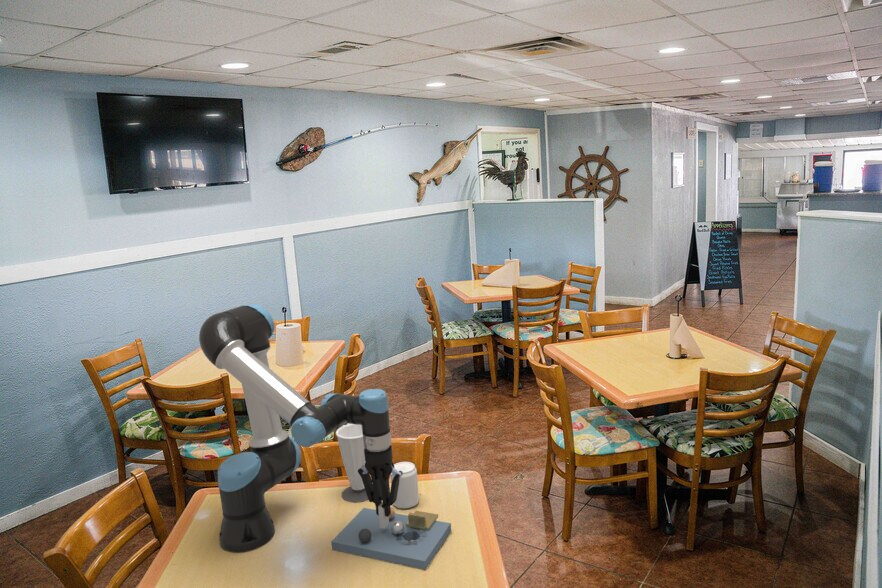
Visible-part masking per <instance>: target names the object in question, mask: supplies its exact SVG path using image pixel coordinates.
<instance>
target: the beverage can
mask: <svg viewBox="0 0 882 588" xmlns="http://www.w3.org/2000/svg"><path fill="white" fill-rule="evenodd" d="M393 464H394V468H395V469H396V470H397V471H398V472H399V471H402V472H403V474H402V476H401V477H400V480H399V487H398V493H397V499H396V501H395V502H394V504H393V505H392V506H395V507H396V508H398V509H410V508H413V507H414V506H416V505H418V503H419V501H420V499H419V485H418V484H419V483H418V482H419V481H418V469H417V468H416V466H415V463H413V462H410V461H400V462H397V463H393ZM392 480H393V478H392V473H391V474H390V485H391V484H392Z"/></svg>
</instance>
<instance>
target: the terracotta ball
mask: <svg viewBox="0 0 882 588" xmlns="http://www.w3.org/2000/svg"><path fill="white" fill-rule="evenodd" d="M390 508H391V514H390V515H389V519H391V518H393V516H394V514H395V513H396V512H395V510H394V508H393V507H392V506H390Z"/></svg>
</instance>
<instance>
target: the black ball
mask: <svg viewBox="0 0 882 588" xmlns="http://www.w3.org/2000/svg"><path fill="white" fill-rule="evenodd" d="M358 537H359V540H360V541H361V542H368V541H369V540H370V539H371V532H370V530H368V529H362V530H361V531H360V532H359V535H358Z"/></svg>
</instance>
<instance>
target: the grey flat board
mask: <svg viewBox="0 0 882 588" xmlns="http://www.w3.org/2000/svg"><path fill="white" fill-rule="evenodd" d="M395 521H400V522H402V523H403V525H404V530H403V532H402V533H401V534H398V535H397V534H394V533H393V532H392V529H391V526H392V524H393V523H394V522H395ZM407 521H408V514H407V515H406V514H401V513H396V512H395V514H394V516H393V518H391V519H389V524H388V526H387V527H386V528H385V529H384V528H380V522H379V515H377V514H376V509H374V508H369V507H362V509H361V510H359V512H358V513H357V514H355V516H354V517H353V518H352V519H351V520H350V522H348V523H347V525H346V526H345V527H344V528H343V529H342V530H340V532H339V533H338V534H337V535H336V536H335V537H334V538H333V539H332V540H331V551H336V552H340V553H344V554H350V555H354V556H359V557H363V558H369V559H372V560H378V561H380V562H381V561H382V562H387V563H392V564H396V565H401V566H406V567H411V568H415V569H420V570H424V571H426V570H427V569H428V567H429V566H430V564H431V563H432V561H433V560H434V559H435V557H436V555H437V553H438V552H439V550H440V549H441V547H442V546H443V544H444V543H445V541H446V540H447V538H448V537H449V535H450V533H452V523H451V522H446V521H440V520H436V521H435V522H434V524H433V525H432V526H431V528H430V529H429V530H424V529H419V528H413V527H408V526H406V522H407ZM362 529H368V530H370V532H371V539H370V540H369V541H368V542H361V541H360V540H359V537H358V535H359V532H360V531H361V530H362Z"/></svg>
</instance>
